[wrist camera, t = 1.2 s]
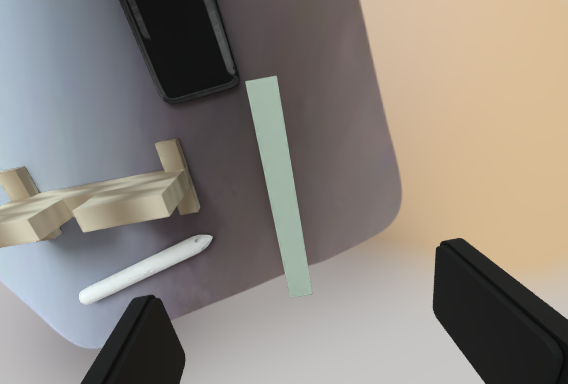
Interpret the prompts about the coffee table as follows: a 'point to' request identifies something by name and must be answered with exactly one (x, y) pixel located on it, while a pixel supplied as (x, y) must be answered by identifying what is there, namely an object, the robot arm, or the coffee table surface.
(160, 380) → the robot arm
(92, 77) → the coffee table surface
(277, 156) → the mint green slab
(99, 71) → the coffee table surface
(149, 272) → the marker
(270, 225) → the coffee table surface
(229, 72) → the phone
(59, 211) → the slotted wooden stand
